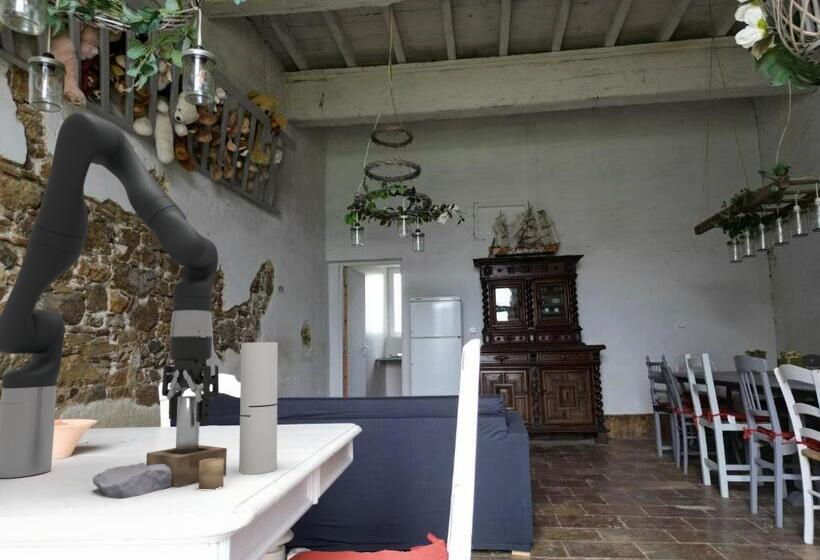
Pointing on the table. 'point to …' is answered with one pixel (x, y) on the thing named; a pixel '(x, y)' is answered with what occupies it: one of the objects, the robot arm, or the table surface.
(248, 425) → the cylindrical container
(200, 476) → the oak stub
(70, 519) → the table surface
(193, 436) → the steel pin
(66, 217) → the robot arm
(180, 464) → the collar
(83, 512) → the table surface
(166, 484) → the stone block
